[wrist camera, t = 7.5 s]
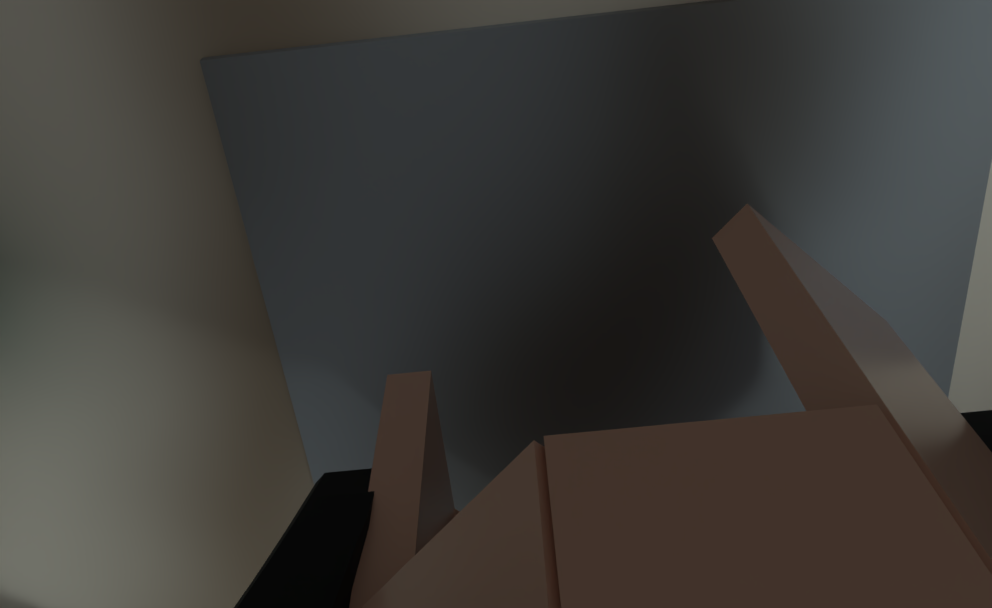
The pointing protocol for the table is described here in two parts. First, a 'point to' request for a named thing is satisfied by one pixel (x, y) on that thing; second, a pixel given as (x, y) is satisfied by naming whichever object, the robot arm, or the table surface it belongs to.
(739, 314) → the board
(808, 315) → the pink stool
